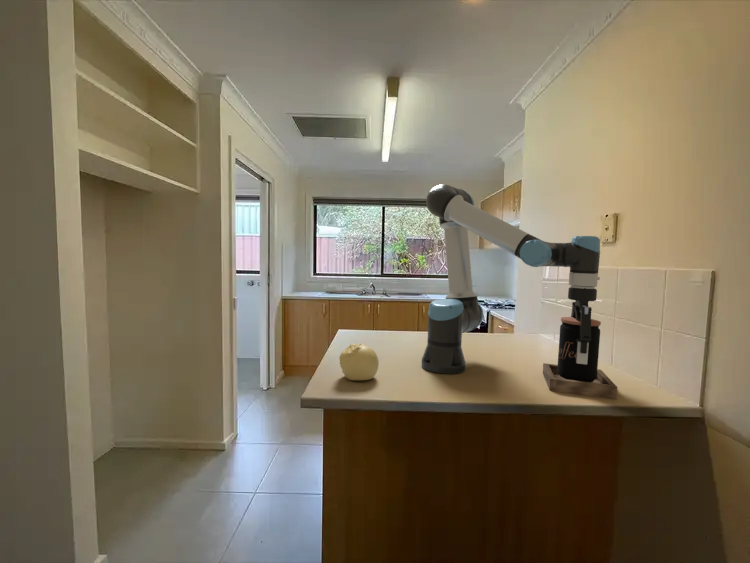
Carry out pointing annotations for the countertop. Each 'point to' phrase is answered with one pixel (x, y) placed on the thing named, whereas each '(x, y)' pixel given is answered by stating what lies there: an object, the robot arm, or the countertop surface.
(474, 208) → the robot arm
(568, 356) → the coffee jar
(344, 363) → the sculpture
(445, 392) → the countertop surface
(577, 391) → the wooden tray
